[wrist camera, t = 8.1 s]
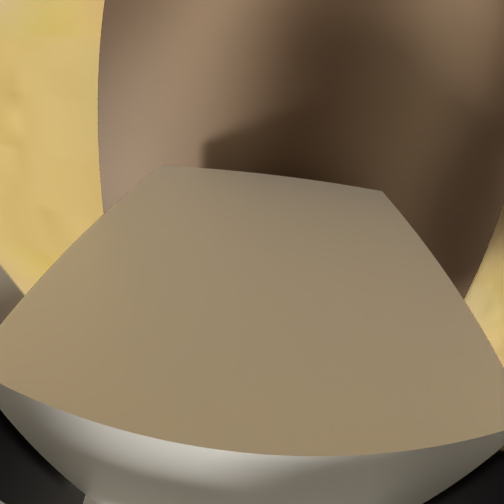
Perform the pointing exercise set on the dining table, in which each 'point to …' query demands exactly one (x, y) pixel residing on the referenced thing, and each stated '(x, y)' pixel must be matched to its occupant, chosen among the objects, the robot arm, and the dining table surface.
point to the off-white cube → (251, 350)
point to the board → (317, 103)
